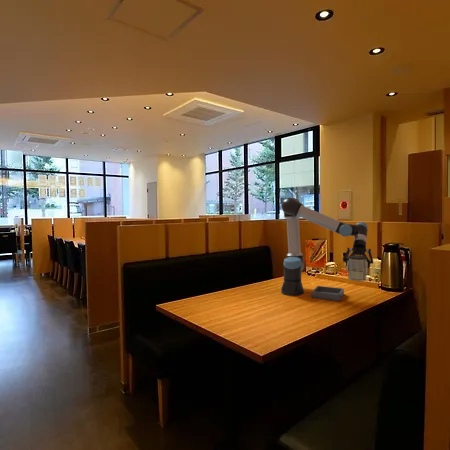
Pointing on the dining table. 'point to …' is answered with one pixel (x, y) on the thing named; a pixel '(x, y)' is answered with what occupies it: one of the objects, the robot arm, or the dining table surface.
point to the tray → (328, 293)
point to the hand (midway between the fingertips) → (356, 271)
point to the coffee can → (357, 268)
